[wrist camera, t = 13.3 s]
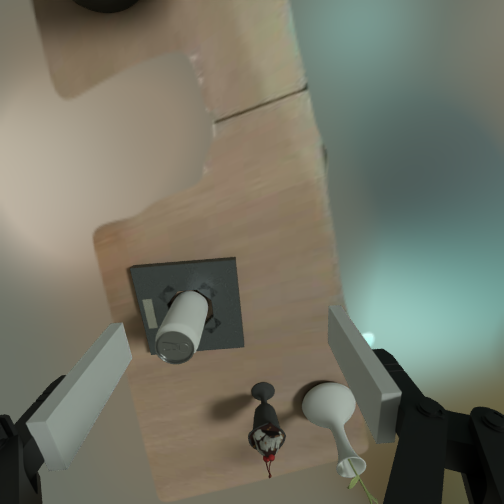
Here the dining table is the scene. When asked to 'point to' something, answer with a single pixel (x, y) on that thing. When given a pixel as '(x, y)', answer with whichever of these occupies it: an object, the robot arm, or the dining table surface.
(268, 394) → the sundae
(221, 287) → the socket plate
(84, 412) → the robot arm
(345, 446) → the flower in vase
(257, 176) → the dining table surface
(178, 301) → the can
